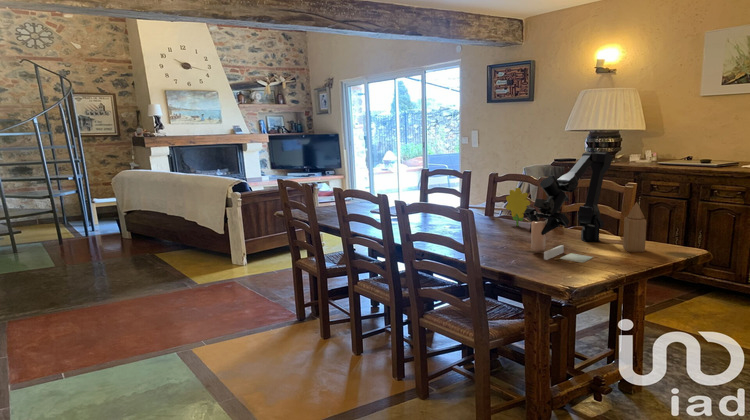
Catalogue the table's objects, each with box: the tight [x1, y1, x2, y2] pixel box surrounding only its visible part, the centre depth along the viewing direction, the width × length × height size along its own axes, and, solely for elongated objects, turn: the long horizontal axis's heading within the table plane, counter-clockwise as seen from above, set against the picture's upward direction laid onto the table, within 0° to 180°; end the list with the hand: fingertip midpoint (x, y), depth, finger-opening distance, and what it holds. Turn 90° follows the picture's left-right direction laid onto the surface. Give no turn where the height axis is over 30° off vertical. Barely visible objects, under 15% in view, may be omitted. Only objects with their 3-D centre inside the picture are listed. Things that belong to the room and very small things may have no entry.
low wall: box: [543, 244, 565, 261], centre depth 193 cm, size 14×1×3 cm, turn 133°
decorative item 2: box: [622, 201, 647, 253], centre depth 196 cm, size 7×7×20 cm
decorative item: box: [505, 187, 531, 227], centre depth 252 cm, size 16×1×20 cm, turn 30°
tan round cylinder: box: [530, 220, 547, 251], centre depth 198 cm, size 6×6×11 cm
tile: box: [559, 253, 594, 264], centre depth 189 cm, size 9×9×1 cm
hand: (536, 233), depth 197 cm, fingers closed on tan round cylinder, 5 cm apart
